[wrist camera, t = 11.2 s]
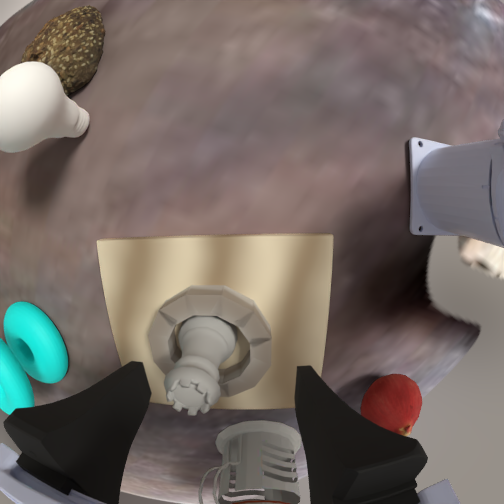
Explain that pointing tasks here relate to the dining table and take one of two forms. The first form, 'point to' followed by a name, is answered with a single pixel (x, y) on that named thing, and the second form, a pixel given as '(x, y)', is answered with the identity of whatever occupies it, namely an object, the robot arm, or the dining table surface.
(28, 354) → the donuts
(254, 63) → the dining table surface
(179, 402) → the rook chess piece
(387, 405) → the pomegranate
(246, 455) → the french press
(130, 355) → the ring board
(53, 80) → the lightbulb
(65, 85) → the bread roll
